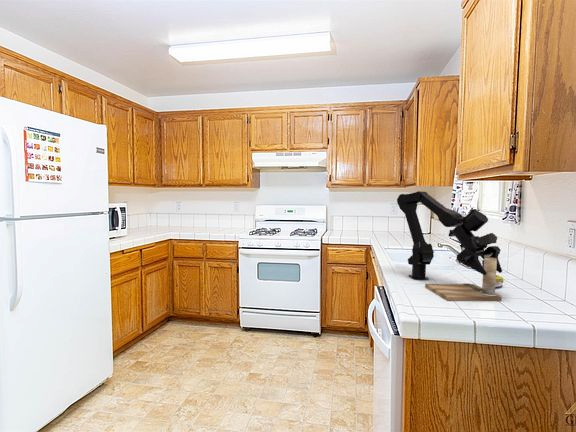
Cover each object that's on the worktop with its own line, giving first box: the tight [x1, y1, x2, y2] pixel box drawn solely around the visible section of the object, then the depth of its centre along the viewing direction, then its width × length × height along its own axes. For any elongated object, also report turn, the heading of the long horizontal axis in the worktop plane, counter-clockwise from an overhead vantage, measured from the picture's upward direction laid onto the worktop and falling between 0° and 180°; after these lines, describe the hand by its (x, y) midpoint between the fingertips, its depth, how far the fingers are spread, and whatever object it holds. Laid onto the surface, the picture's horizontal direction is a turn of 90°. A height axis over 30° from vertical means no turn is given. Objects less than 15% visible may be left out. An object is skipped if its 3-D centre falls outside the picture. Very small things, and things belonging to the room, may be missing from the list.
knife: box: [495, 274, 504, 288], centre depth 146 cm, size 8×3×25 cm
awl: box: [481, 257, 497, 295], centre depth 124 cm, size 4×4×13 cm
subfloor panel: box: [424, 283, 503, 302], centre depth 129 cm, size 17×20×2 cm
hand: (493, 273), depth 122 cm, fingers open, 9 cm apart
